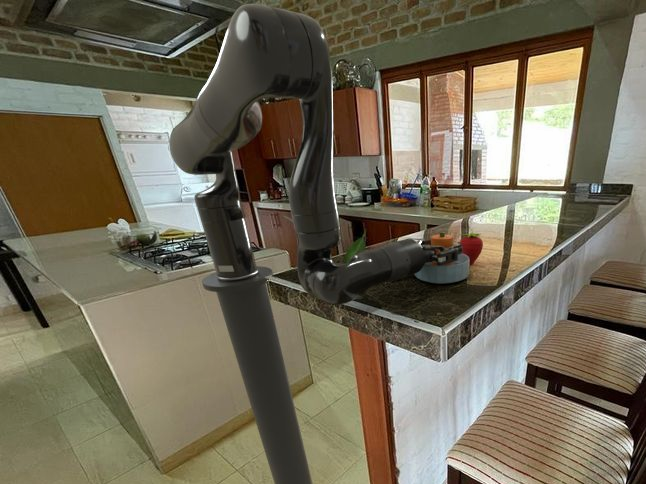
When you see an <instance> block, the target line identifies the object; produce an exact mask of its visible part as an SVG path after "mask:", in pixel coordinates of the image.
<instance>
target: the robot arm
mask: <svg viewBox="0 0 646 484" xmlns="http://www.w3.org/2000/svg"><path fill="white" fill-rule="evenodd" d="M228 23H229V24H228V26H227V30H226V32H225V36H224V39H223V41H222V46H221V48H220V52H219V55H218V58H217V61H216V63H215V66H214V68H213V69H212V72H211V74H210V75H209V77H208V79H207V82H206V83H205V85H203V87H202V89H201V91H200V92H199V93H198V96H197V97H196V99H195V102H194V103H193V106H192V107H191V109H190V110H189V112H188V113H187V114H186V116H184V118H183V119H182V120H181V121H180V122H178V123H177V125H175V126H174V128H173V129H172V130H171V131H170V134H169V135H170V136H169V151H170V155H171V158H172V160H173V162H174V163H175V165H176V166H177V168H179V169H180V170H181V171H182V172H184V173H185V174H188V175H193V176H204V175H205V176H207V175H208V176H209V175H215V181H214V182H213V183H212V184H211V185H210V186H209V187H207V188H205V189H203V190H201V191H199V192H196V193H195V195H194V198H193V199H194V202H195V206H196V210H197V213H198V216H199V220H200V222H201V225H202V226H201V227H202V229H203V232H204V236H205V239H206V242H207V246H208V249H209V254H210V256H211V259H212V264H213V266H214V270H215V273H216V274H217V279H218V280H219V281H225V282H232V281H240V280H245V279H249V278H252V277H254V276H256V275H257V274H258V269H257V267H256V266H257V263H256V258H255V254H254V249H253V246H252V241H251V238H250V233H249V229H248V225H247V221H246V217H245V213H244V209H243V205H242V200H241V193H240V186H239V182H238V178H237V172H236V166H235V160H234V156H233V151H236V150H239V149H242V148H243V147H244V146H247V144H248V143H250V141H252V140H253V139H254V138H255V137H256V136H257V134H259V132H260V131H261V128H262V125H263V120H264V119H263V110H262V106H261V103H260V100H262V99H286V100H287V99H291V100H299V104H300V110H301V116H302V117H301V119H302V132H301V133H302V134H301V139H300V145H299V150H298V153H297V156H296V160H295V162H294V166H293V169H292V173H291V176H290V182H289V187H288V188H289V189H288V200H289V201H288V202H289V208H290V213H291V217H292V220H293V222H294V224H293V226H294V230H295V235H296V239H297V247H296V271H297V272H296V273H297V277H298V281H299V283H300V285H301V287H302V289H303V290H304V291H305V292H306V294H308V295H310V296H312V297H313V298H316V299H318V300H319V301H322V302H324V303H325V304H328V305H333V306H340V305H344V304H348V303H350V302H353V301H354V300H356V299H357V298H359V297H360V296H361V295H363V294H364V293H366V292H367V291H368V290H370V289H371V288H374V287H377V286H379V285H383V284H385V283H389V282H395V281H397V280H400V279H404V278H406V277H409V276H412V275H415V273H418V272H419V271H420V270H421V269H422V268H423V266H424V264H429V263H431V262H437V265H438V266H442V265H445V264H448V263H451V262H454V261H457V260H458V255H459V254H461V253H462V244H460V243H457V244H453V246H450V247H443V246H442V245H432V246H431V238H428V239H425V240H421V239H418V240H415V239H413V238H404V239H401V240H397V241H391V242H390V243H389V242H388V243H385V244H382V245H379V246H377V247H374V248H370V249H366V250H365V251H362V252H359V253H356V254H354V255H353V256H352V257H351V258H350V260H349V262H348V263H345V262H344V263H338V262H335V261H333V260H334V259H333V253H332V252H333V249H334V248H336V247H337V246H339V245H340V243H341V241H342V230H341V224H340V223H341V222H340V218H339V211H338V204H337V196H336V188H335V178H334V109H333V107H334V106H333V105H334V103H333V101H334V100H333V99H334V98H333V69H332V60H331V59H332V58H331V51H330V48H329V43H328V39H327V36H326V34H325V32H324V29H323V28H322V26H321V25H320V24H319V22H318V21H317V20H316V19H315V18H313V17H312V16H310V15H307V14H304V13H300V12H296V11H292V10H289V9H284V8H279V7H275V6H271V5H265V4H261V3H246V4H242V5H241V6H239V7H238V8H237V9H236V10H235V12H234V13H233V15H232V17H231V19H230V21H229V22H228ZM436 249H439V253H437V255H436ZM444 250H447V251H444ZM462 254H463V253H462Z"/></svg>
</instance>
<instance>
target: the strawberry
mask: <svg viewBox="0 0 646 484" xmlns="http://www.w3.org/2000/svg"><path fill="white" fill-rule="evenodd" d="M468 228H469V229H470V230H471V232H470V233H461V234H460V235H459V236H463V237H462V238H461V240H460V243H459V244H462V254H465V255H467V256H468V257H469V259H470V261H469V266H472V265H474V264H475V262H476V261H477V260H478V258H479V256H480V255H481V254H482V251H483V248H484V241H483V239H482V238H481V237H480V236H481V233H474V232H473V229H472V228H471V227H470V226H468Z"/></svg>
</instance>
